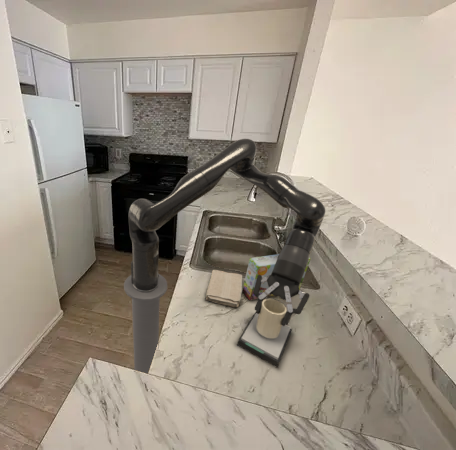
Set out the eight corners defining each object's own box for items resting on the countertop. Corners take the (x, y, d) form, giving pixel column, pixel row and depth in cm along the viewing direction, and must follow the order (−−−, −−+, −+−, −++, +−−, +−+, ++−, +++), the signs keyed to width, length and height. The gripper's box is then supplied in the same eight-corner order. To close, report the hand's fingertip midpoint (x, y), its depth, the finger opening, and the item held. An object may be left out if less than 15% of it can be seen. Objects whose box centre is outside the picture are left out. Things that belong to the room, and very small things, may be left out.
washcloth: (204, 301, 89) (205, 295, 87) (211, 272, 104) (212, 266, 103) (240, 310, 85) (241, 303, 84) (241, 278, 101) (242, 272, 99)
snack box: (250, 302, 89) (258, 266, 82) (241, 291, 94) (248, 257, 87) (300, 291, 94) (311, 257, 88) (289, 282, 99) (299, 249, 92)
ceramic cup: (253, 330, 73) (259, 307, 69) (260, 318, 77) (266, 295, 73) (275, 342, 69) (283, 318, 65) (281, 328, 74) (289, 304, 70)
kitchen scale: (237, 345, 73) (238, 338, 72) (254, 316, 83) (256, 309, 82) (277, 367, 67) (279, 360, 66) (290, 333, 77) (293, 327, 76)
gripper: (318, 277, 72) (297, 333, 69) (266, 259, 80) (245, 308, 77) (320, 270, 66) (298, 331, 63) (264, 251, 74) (241, 305, 71)
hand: (269, 318), depth 70 cm, fingers closed on ceramic cup, 6 cm apart
